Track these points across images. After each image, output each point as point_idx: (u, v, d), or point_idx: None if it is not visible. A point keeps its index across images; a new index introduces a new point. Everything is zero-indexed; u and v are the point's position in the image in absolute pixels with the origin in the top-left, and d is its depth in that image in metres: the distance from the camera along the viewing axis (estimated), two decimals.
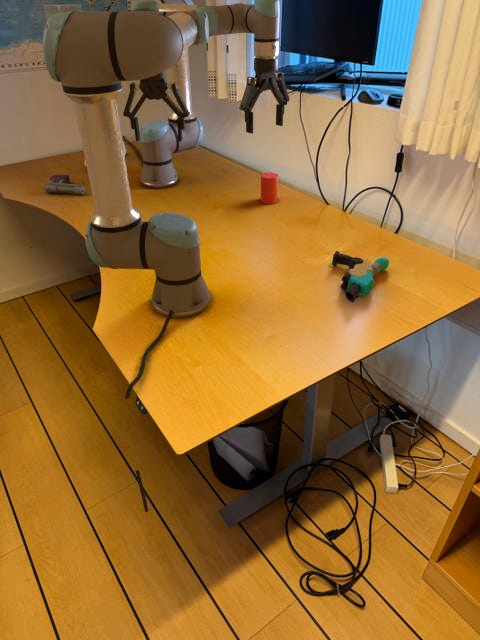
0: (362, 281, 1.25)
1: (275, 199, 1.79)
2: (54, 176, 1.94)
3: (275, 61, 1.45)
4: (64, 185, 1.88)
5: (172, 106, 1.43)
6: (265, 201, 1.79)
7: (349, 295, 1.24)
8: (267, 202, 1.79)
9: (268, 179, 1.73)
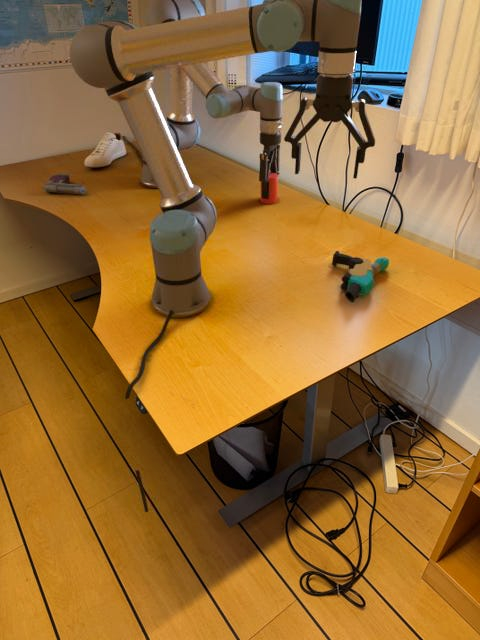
0: (362, 281, 1.25)
1: (275, 199, 1.79)
2: (54, 176, 1.94)
3: (280, 135, 1.66)
4: (64, 185, 1.88)
5: (354, 132, 1.04)
6: (265, 201, 1.79)
7: (349, 295, 1.24)
8: (267, 202, 1.79)
9: None
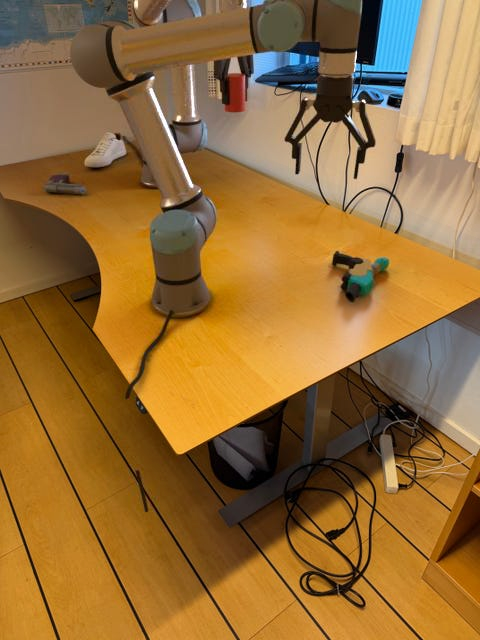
0: (362, 281, 1.25)
1: (239, 107, 1.44)
2: (54, 176, 1.94)
3: None
4: (64, 185, 1.88)
5: (354, 132, 1.04)
6: (226, 109, 1.45)
7: (349, 295, 1.24)
8: (228, 110, 1.45)
9: (228, 78, 1.39)
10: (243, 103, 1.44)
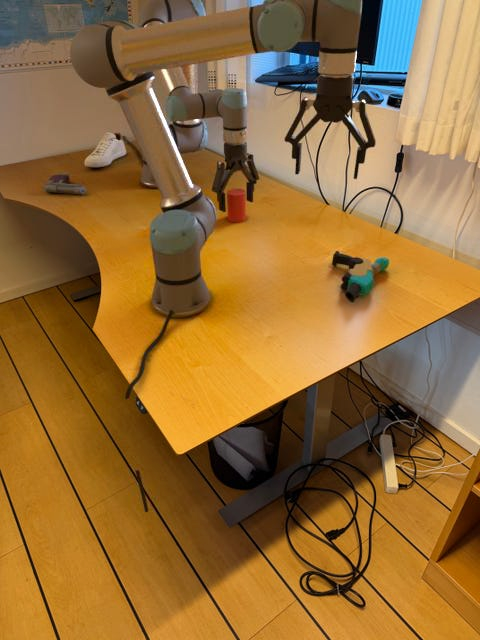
0: (362, 281, 1.25)
1: (240, 218, 1.65)
2: (54, 176, 1.94)
3: (244, 147, 1.51)
4: (64, 185, 1.88)
5: (354, 132, 1.04)
6: (229, 219, 1.66)
7: (349, 295, 1.24)
8: (231, 220, 1.66)
9: (231, 196, 1.61)
10: (244, 214, 1.66)
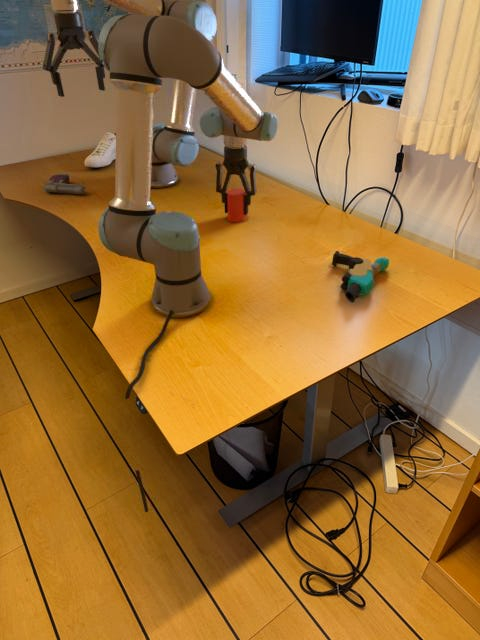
0: (362, 281, 1.25)
1: (240, 218, 1.65)
2: (54, 176, 1.94)
3: (74, 16, 1.34)
4: (64, 185, 1.88)
5: (244, 184, 1.59)
6: (229, 219, 1.66)
7: (349, 295, 1.24)
8: (231, 220, 1.66)
9: (231, 196, 1.61)
10: None
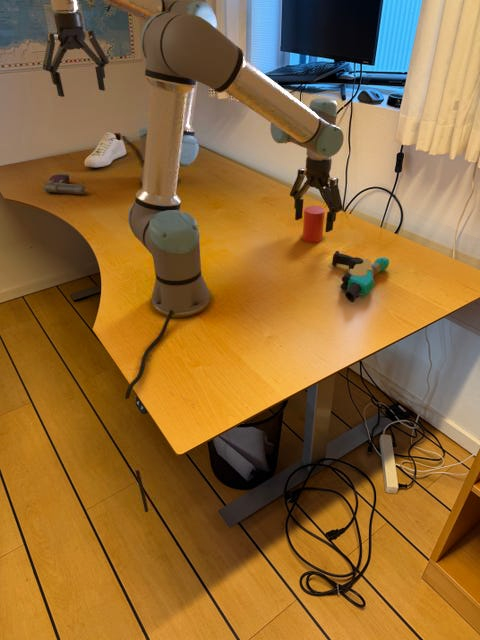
0: (362, 281, 1.25)
1: (312, 238, 1.52)
2: (54, 176, 1.94)
3: (74, 16, 1.34)
4: (64, 185, 1.88)
5: (326, 199, 1.43)
6: None
7: (349, 295, 1.24)
8: (303, 238, 1.54)
9: (305, 212, 1.49)
10: (318, 235, 1.52)
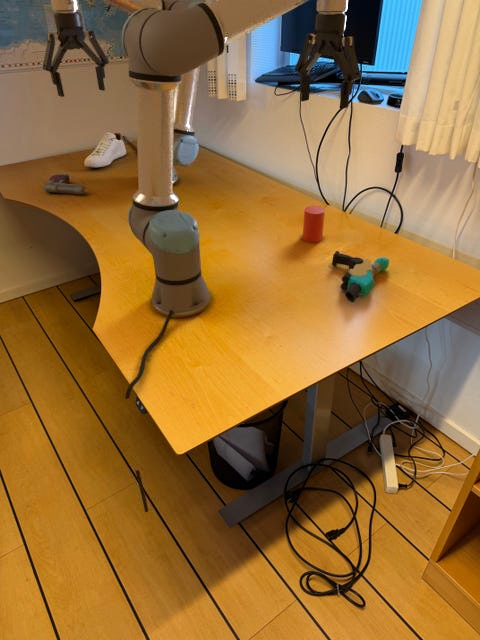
0: (362, 281, 1.25)
1: (312, 238, 1.52)
2: (54, 176, 1.94)
3: (74, 16, 1.34)
4: (64, 185, 1.88)
5: (341, 65, 1.21)
6: None
7: (349, 295, 1.24)
8: (303, 238, 1.54)
9: (305, 212, 1.49)
10: (318, 235, 1.52)
